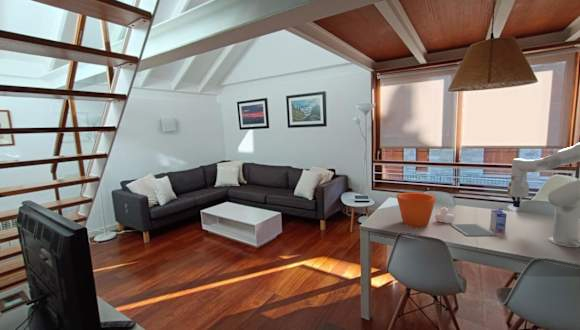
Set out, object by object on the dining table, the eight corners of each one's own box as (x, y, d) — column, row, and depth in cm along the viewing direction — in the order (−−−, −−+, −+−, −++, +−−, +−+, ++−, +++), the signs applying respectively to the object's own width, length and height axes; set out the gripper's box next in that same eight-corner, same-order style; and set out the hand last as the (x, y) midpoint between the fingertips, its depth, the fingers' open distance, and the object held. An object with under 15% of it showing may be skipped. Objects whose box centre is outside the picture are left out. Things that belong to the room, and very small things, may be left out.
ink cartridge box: (505, 233, 170) (507, 210, 168) (495, 232, 172) (496, 210, 170) (499, 227, 179) (500, 206, 178) (489, 227, 181) (490, 205, 180)
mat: (497, 236, 166) (497, 235, 166) (466, 236, 168) (466, 235, 168) (477, 224, 186) (477, 223, 186) (449, 225, 188) (450, 224, 188)
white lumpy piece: (454, 225, 192) (453, 210, 197) (455, 222, 186) (454, 206, 191) (434, 223, 198) (434, 209, 203) (435, 220, 192) (435, 205, 197)
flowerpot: (410, 231, 179) (411, 202, 176) (389, 220, 203) (389, 194, 201) (444, 227, 184) (444, 198, 181) (419, 216, 208) (419, 191, 206)
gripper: (510, 179, 168) (507, 208, 170) (536, 179, 167) (533, 208, 169) (501, 177, 175) (499, 205, 178) (526, 177, 174) (524, 205, 177)
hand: (516, 206), depth 173 cm, fingers closed
